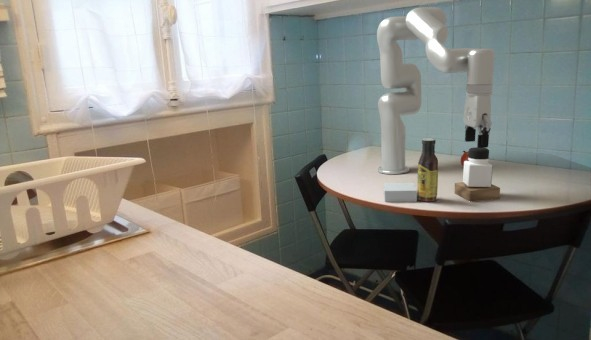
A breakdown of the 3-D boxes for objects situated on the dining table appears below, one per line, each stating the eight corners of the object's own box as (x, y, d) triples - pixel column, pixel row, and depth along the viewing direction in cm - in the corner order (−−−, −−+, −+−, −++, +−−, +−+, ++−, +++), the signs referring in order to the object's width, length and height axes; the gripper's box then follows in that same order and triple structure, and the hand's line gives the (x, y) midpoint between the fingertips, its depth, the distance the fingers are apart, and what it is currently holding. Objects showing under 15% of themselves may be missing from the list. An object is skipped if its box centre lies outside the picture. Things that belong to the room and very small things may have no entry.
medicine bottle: (491, 187, 148) (494, 149, 146) (467, 186, 149) (470, 149, 147) (484, 182, 155) (487, 146, 153) (462, 182, 156) (464, 146, 154)
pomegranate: (482, 172, 191) (471, 154, 197) (487, 161, 186) (475, 142, 192) (465, 176, 190) (454, 158, 196) (470, 164, 185) (459, 146, 191)
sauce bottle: (414, 197, 155) (414, 137, 151) (433, 196, 156) (433, 136, 151) (421, 203, 149) (421, 141, 144) (440, 201, 149) (441, 139, 145)
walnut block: (454, 194, 158) (454, 183, 157) (482, 191, 159) (482, 180, 158) (470, 203, 148) (470, 190, 147) (499, 200, 149) (500, 187, 148)
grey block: (383, 194, 162) (383, 183, 161) (413, 194, 161) (413, 182, 160) (384, 203, 153) (384, 191, 152) (416, 202, 151) (416, 190, 150)
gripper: (456, 88, 154) (454, 139, 158) (478, 93, 137) (475, 150, 142) (479, 87, 154) (476, 138, 159) (504, 91, 138) (500, 149, 142)
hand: (476, 144), depth 150 cm, fingers open, 9 cm apart
